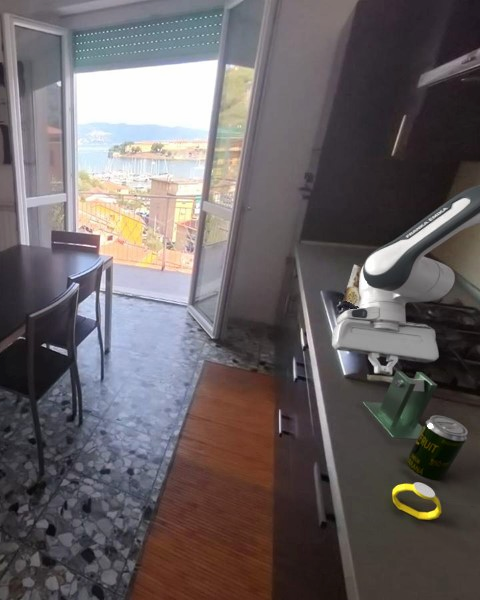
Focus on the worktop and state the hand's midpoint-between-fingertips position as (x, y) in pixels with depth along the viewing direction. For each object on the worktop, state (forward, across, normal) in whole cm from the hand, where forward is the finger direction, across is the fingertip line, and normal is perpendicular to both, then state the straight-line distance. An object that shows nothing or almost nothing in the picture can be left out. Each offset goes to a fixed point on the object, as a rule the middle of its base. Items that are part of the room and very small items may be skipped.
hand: (383, 374), depth 84 cm
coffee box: (-34, -12, -45) cm, 58 cm away
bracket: (+11, -2, 0) cm, 11 cm away
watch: (+28, +4, +17) cm, 33 cm away
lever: (+3, -1, +4) cm, 5 cm away
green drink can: (+21, -2, +10) cm, 23 cm away
